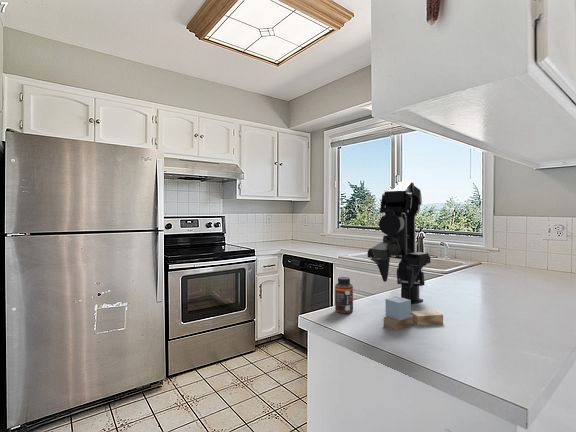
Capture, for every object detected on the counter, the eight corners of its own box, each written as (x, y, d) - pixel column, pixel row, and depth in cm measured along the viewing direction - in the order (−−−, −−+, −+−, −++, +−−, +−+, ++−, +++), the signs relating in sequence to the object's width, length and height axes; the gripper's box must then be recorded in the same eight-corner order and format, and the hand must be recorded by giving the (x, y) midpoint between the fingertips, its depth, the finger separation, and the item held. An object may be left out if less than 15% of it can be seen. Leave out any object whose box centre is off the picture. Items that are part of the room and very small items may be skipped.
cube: (396, 312, 101) (396, 296, 100) (410, 317, 96) (410, 300, 96) (385, 315, 98) (385, 299, 98) (399, 320, 94) (399, 303, 94)
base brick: (401, 321, 101) (401, 312, 101) (414, 325, 97) (414, 315, 97) (383, 327, 97) (383, 316, 97) (395, 331, 93) (395, 321, 93)
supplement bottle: (353, 314, 108) (352, 280, 107) (334, 313, 109) (334, 279, 108) (353, 309, 113) (352, 276, 113) (335, 308, 115) (335, 275, 114)
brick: (434, 319, 102) (434, 310, 102) (443, 324, 98) (443, 314, 98) (410, 321, 101) (410, 311, 101) (417, 326, 97) (417, 316, 97)
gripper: (354, 232, 101) (355, 282, 102) (405, 236, 86) (406, 295, 86) (379, 229, 107) (380, 277, 108) (431, 233, 92) (431, 289, 92)
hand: (397, 284), depth 98 cm, fingers open, 9 cm apart
